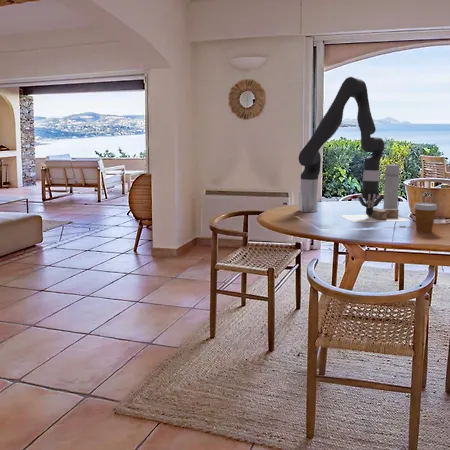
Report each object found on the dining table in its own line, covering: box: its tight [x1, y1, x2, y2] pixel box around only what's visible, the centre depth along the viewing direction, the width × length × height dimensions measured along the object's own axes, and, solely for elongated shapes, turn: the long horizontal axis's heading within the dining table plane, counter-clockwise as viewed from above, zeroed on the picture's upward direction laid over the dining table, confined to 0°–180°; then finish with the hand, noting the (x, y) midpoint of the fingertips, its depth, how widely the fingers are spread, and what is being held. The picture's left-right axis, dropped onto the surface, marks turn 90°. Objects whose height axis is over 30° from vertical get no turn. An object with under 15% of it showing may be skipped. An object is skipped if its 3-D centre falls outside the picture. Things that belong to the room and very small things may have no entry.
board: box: [338, 214, 411, 224], centre depth 266 cm, size 28×20×1 cm
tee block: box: [369, 207, 400, 220], centre depth 267 cm, size 12×12×4 cm
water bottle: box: [379, 164, 401, 210], centre depth 287 cm, size 9×8×25 cm
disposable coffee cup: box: [413, 202, 438, 233], centre depth 239 cm, size 10×10×12 cm
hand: (369, 215), depth 265 cm, fingers closed
